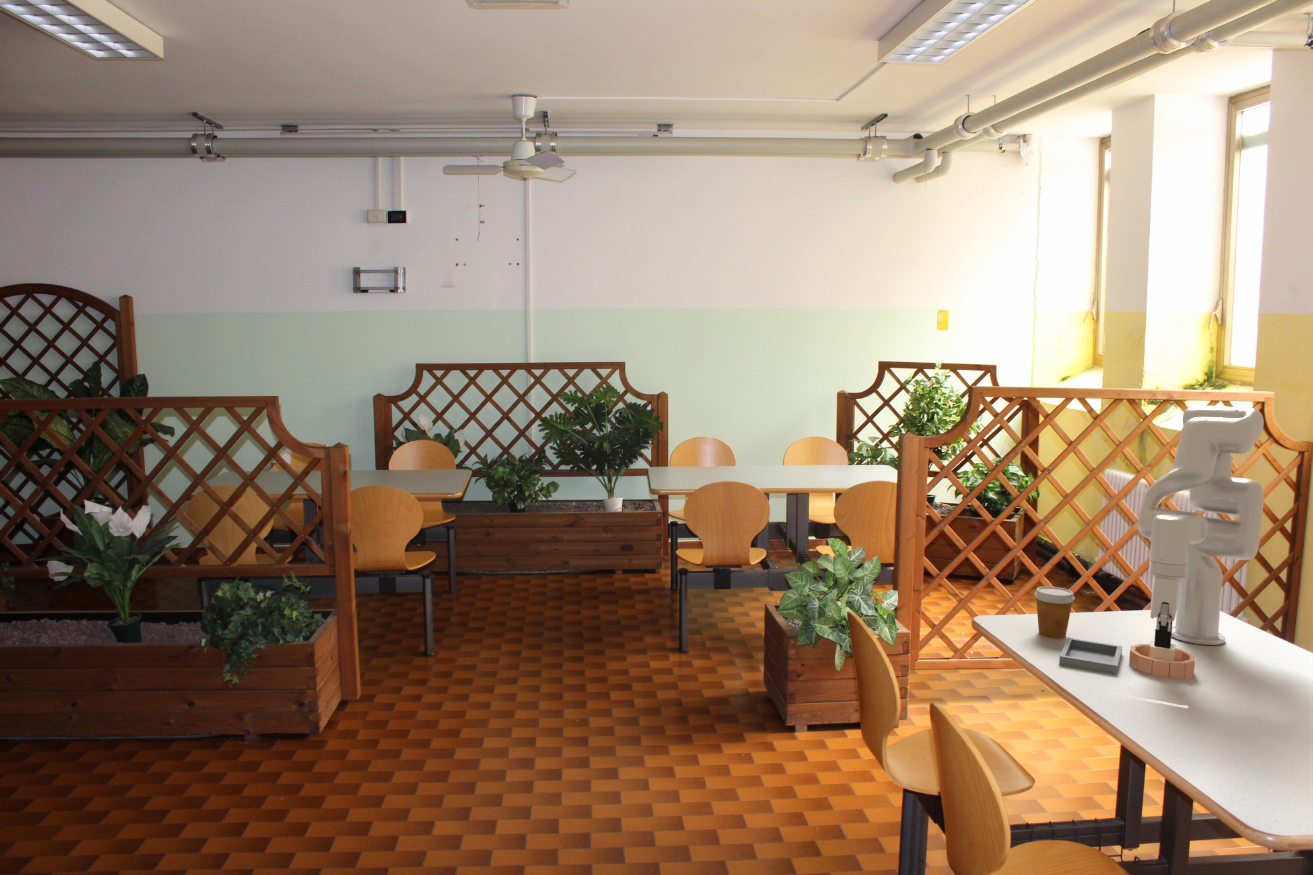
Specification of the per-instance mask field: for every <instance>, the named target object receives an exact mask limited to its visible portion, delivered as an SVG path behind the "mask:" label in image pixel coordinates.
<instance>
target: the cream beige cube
mask: <svg viewBox="0 0 1313 875" xmlns="http://www.w3.org/2000/svg"><path fill="white" fill-rule="evenodd" d="M1154 641H1155V640H1151V641H1150V643H1149V644H1150V653H1149V657H1150V658H1153V659H1158V660H1164V661H1174V660H1175V648H1176V644H1174V643H1171V647H1170V649H1167V648H1161V647H1155V646H1154Z"/></svg>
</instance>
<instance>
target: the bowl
mask: <svg viewBox="0 0 1313 875" xmlns="http://www.w3.org/2000/svg"><path fill="white" fill-rule="evenodd" d="M1150 644H1151V643H1138V644H1134V645H1130V648H1129V661H1128V665H1129V666H1130V667H1132V668H1133V669H1135V670H1136V671H1138V672H1141V673H1144V674H1147V675H1149V676H1155V677H1161V678H1167V679H1187V678H1188V680H1190V679H1194V677H1195V675H1194V674H1195V665H1196V664H1195V663H1196V657H1195V655H1193V653H1191V652H1189V651H1187V650H1184V649H1180V648H1177V647H1175V660H1174V661H1164V660H1158V659H1153V658H1150V657H1149V653H1150Z"/></svg>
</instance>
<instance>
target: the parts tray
mask: <svg viewBox="0 0 1313 875" xmlns="http://www.w3.org/2000/svg"><path fill="white" fill-rule="evenodd" d="M1122 654H1123V645H1115V644H1110V643H1103V642H1099V641H1091V640H1085V639H1080V638H1074V637H1073V638H1072V637H1067V639H1066V642H1065V643H1064V646H1063V648H1062V649H1061V652H1060V655H1059V662H1058V665H1060V666H1065V667H1071V668H1075V669H1076V668H1077V669H1083V670H1089V671H1095V672H1100V673H1105V674H1106V673H1107V674H1110V675H1118V670H1119V668H1120V664H1121V658H1122Z"/></svg>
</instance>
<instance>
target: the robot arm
mask: <svg viewBox="0 0 1313 875" xmlns="http://www.w3.org/2000/svg"><path fill="white" fill-rule="evenodd" d="M1264 424H1265V423H1264V417H1263V413H1262V412H1260V410H1259V409H1257V408H1252V407H1239V406H1238V407H1235V406H1222V405H1221V406H1220V405H1219V406H1218V405H1196V406H1191V407H1189V408H1186V409H1185V410H1184V412H1183V415H1182V425H1183V426H1182V428H1181V433H1180V437H1179V442H1178V445H1177V449H1176V452H1175V457H1174V459H1173V460H1174V461H1173V465H1172V468H1171V470H1169V471H1168V472H1167V473H1166V474H1163V475H1162V476H1161V477H1159V478H1158V479H1156V481H1155V482H1153V483H1152V484H1151V486H1150V487H1149V488H1148V489H1147V491H1146V492H1145V494H1144V495H1143V499H1142V503H1141V507H1140V511H1139V514H1138V520H1137V528H1138V532H1139V533H1140V535H1141V536H1142V537H1144V538H1146V539H1150V550H1149V551H1150V552H1149V553H1150V554H1149V564H1148V566H1149V568H1148V574H1149V575H1151V576H1153V578H1152V579H1153V580H1152V586H1151V587H1152V588H1151V602H1150V604H1151V605H1150V618H1151V619H1152V620H1153V619H1154V618H1156V627H1155V628H1154V640H1153V641H1154V646H1155V647H1161V648H1167V649H1170V647H1171V644H1172V643H1171V642H1172V638H1173V639H1176V640H1178V641H1182V642H1186V643H1190V644H1196V645H1204V646H1219V645H1223V644H1224V643H1225V642H1226V637H1225V636H1224V635H1223V634H1222V633H1220V632H1219V629H1220V628H1219V627H1220V613H1221V602H1222V588H1223V587H1222V586H1223V572H1222V568H1221V567H1220V565H1219V564H1218V562H1217V561H1216V559H1215V558H1214V557H1220V558H1226V559H1227V558H1228V559H1232V560H1233V559H1234V560H1239V561H1241V560H1242V561H1248V560H1253V559H1254V558H1255V557H1256V556H1257V554H1258V551H1259V547H1260V539H1261V530H1262V520H1263V513H1264V512H1263V511H1264V501H1265V498H1264V496H1265V494H1264V489H1263V486H1262V485H1261V483H1260V482H1258V481H1257V480H1254V479H1251V478H1244V477H1243V478H1242V477H1234V476H1233V477H1232V467H1233V456H1232V454H1237V455H1239V454H1240V455H1241V454H1246V453H1247V452H1249V451H1250V450H1251V449H1252V447H1253V446H1254V445H1255V444H1256V443H1257V442H1258V440H1259V439H1260V437H1261V435H1262V433H1263V429H1264ZM1187 490H1189V496H1188V497H1189V504H1190V506H1191V508H1193V509H1195V510H1196V511H1199V512H1200V511H1201V512H1205V513H1212V514H1222V515H1229V516H1236V517H1238V519H1239V520H1232V519H1223V518H1216V517H1209V516H1207V517H1206V516H1203V515H1202V514H1200V513H1197V512H1193V511H1183V510H1176V509H1169V508H1160V507H1159V505H1160V503H1161V502H1162V501H1163V500H1165V498H1167V497H1169V496H1171V495H1173V494H1176V493H1179V492H1182V491H1187ZM1158 507H1159V508H1158ZM1174 621H1175V625H1173V622H1174Z"/></svg>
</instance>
